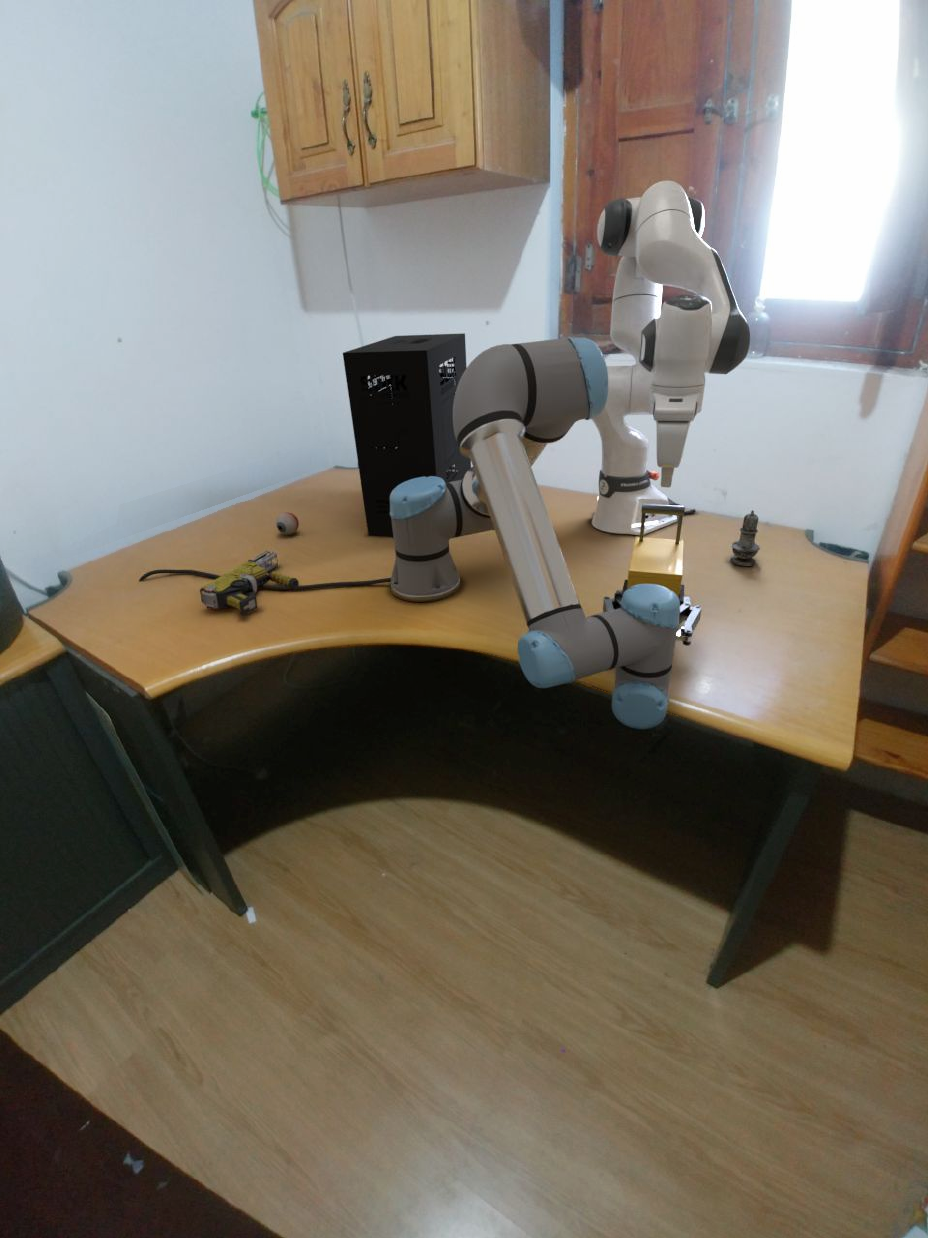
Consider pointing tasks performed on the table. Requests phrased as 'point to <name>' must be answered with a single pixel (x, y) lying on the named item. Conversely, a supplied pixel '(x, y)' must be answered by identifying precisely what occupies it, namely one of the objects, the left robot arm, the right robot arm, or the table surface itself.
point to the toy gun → (243, 584)
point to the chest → (670, 584)
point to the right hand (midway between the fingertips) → (666, 478)
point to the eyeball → (287, 523)
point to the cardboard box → (404, 416)
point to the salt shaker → (746, 542)
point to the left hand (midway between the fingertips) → (653, 588)
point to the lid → (658, 548)
